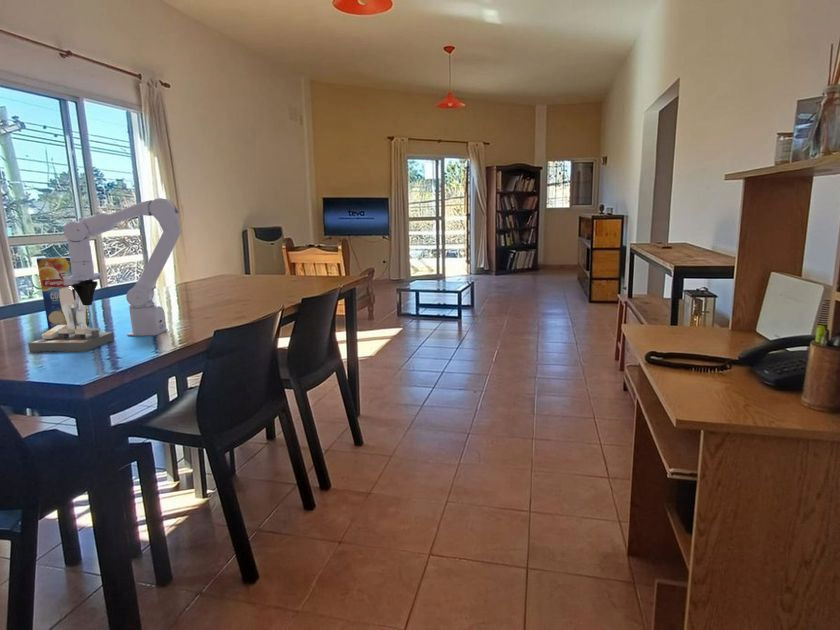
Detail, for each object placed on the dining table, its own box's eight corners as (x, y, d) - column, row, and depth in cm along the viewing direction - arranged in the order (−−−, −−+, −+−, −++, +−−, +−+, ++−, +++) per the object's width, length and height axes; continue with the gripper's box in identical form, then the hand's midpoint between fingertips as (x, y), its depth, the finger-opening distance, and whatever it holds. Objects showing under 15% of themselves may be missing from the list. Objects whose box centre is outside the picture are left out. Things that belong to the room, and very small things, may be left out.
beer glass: (95, 330, 173) (88, 285, 170) (79, 335, 166) (72, 289, 163) (76, 330, 174) (69, 286, 171) (59, 335, 167) (52, 289, 164)
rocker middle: (84, 333, 155) (84, 329, 155) (67, 333, 148) (67, 328, 148) (75, 333, 155) (75, 329, 155) (57, 333, 148) (58, 328, 148)
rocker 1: (67, 328, 155) (66, 324, 155) (52, 338, 149) (50, 334, 148) (59, 328, 156) (57, 324, 155) (42, 338, 149) (41, 334, 149)
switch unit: (114, 339, 159) (112, 325, 158) (85, 351, 146) (83, 335, 145) (62, 340, 159) (60, 326, 158) (29, 351, 147) (26, 336, 146)
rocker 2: (100, 332, 155) (100, 328, 155) (84, 334, 148) (84, 329, 148) (91, 332, 155) (91, 328, 155) (74, 334, 148) (74, 329, 148)
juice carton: (48, 330, 174) (36, 259, 169) (48, 326, 180) (37, 257, 175) (90, 325, 180) (79, 256, 176) (88, 321, 187) (78, 255, 182)
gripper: (84, 259, 165) (90, 301, 168) (51, 263, 151) (58, 309, 153) (106, 259, 165) (111, 301, 167) (74, 263, 150) (81, 309, 153)
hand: (87, 305), depth 160 cm, fingers closed
